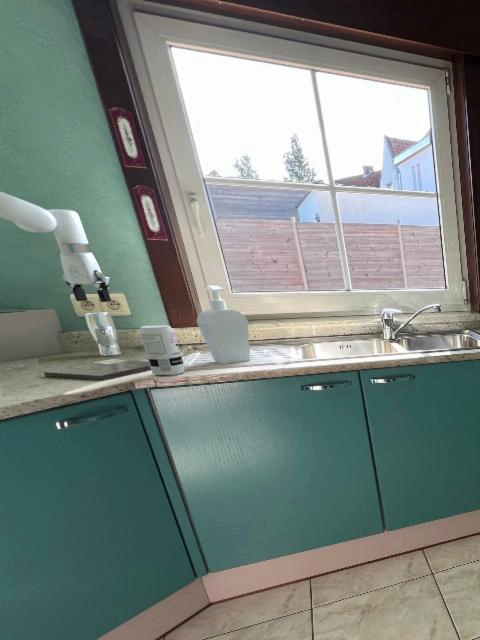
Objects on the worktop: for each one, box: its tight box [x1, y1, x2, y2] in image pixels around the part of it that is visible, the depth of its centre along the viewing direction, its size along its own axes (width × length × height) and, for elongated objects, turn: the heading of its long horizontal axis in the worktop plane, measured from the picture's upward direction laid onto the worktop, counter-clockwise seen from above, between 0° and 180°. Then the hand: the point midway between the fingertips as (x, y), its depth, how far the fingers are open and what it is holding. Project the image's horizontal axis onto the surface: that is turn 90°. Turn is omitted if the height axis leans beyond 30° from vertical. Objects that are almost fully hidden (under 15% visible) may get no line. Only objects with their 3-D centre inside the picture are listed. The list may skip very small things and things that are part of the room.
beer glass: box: [84, 311, 123, 357], centre depth 178 cm, size 7×7×15 cm
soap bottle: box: [196, 285, 251, 365], centre depth 173 cm, size 12×10×26 cm
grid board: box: [43, 358, 152, 381], centre depth 158 cm, size 20×20×2 cm
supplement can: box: [139, 324, 186, 376], centre depth 155 cm, size 8×8×15 cm
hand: (94, 301), depth 174 cm, fingers open, 9 cm apart
